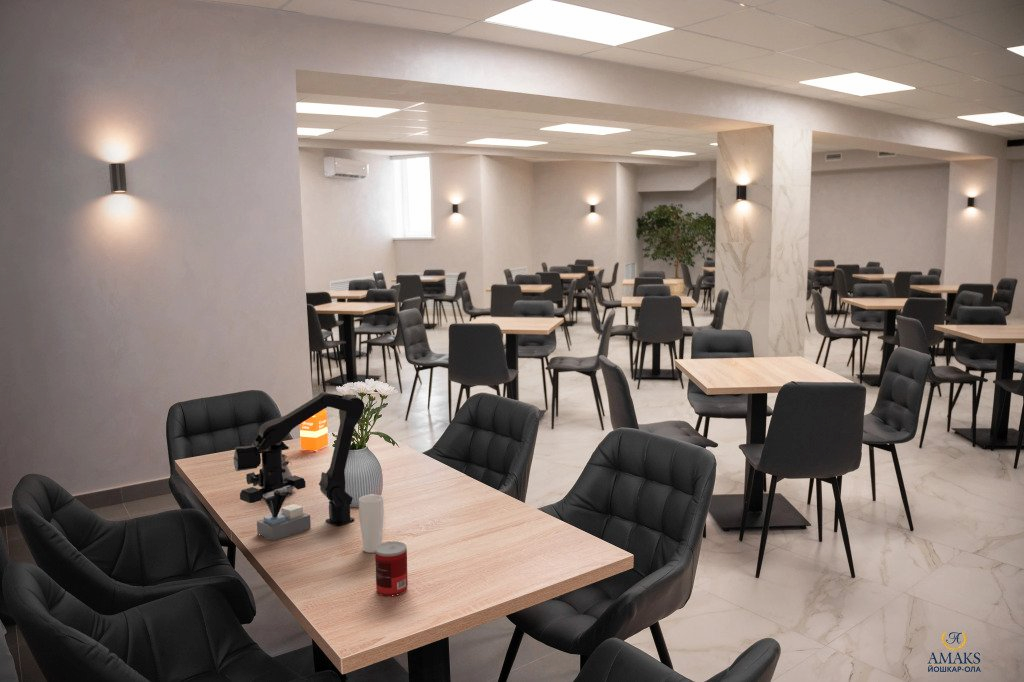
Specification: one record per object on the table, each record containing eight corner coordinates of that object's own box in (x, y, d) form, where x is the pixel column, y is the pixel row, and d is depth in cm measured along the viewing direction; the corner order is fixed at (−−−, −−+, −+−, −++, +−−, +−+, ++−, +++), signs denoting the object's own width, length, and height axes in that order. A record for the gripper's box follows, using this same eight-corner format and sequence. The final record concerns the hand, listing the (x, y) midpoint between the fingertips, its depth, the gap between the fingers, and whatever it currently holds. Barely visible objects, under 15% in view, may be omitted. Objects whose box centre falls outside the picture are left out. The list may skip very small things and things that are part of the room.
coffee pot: (258, 491, 263) (256, 449, 261) (291, 485, 269) (289, 444, 267) (272, 509, 245) (270, 464, 243) (307, 503, 251) (306, 459, 249)
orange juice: (300, 450, 315) (298, 403, 312) (312, 445, 323) (310, 399, 321) (316, 451, 312) (315, 404, 310) (328, 446, 321) (326, 400, 318)
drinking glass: (379, 555, 208) (377, 502, 206) (356, 553, 209) (354, 501, 207) (388, 546, 215) (386, 494, 213) (365, 544, 216) (364, 493, 214)
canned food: (409, 582, 192) (408, 540, 190) (405, 596, 184) (404, 553, 182) (378, 582, 191) (377, 541, 190) (374, 597, 183) (372, 554, 182)
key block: (310, 527, 229) (310, 515, 228) (272, 540, 219) (272, 527, 218) (295, 521, 234) (294, 509, 233) (257, 534, 224) (256, 521, 223)
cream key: (303, 519, 228) (302, 507, 228) (290, 523, 225) (290, 510, 225) (294, 516, 231) (294, 503, 231) (282, 520, 228) (281, 507, 227)
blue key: (286, 529, 224) (285, 516, 224) (273, 533, 221) (272, 520, 220) (277, 525, 227) (277, 513, 226) (264, 530, 224) (263, 517, 223)
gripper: (284, 453, 234) (286, 502, 236) (228, 467, 219) (231, 519, 221) (305, 460, 226) (307, 510, 228) (249, 475, 212) (252, 528, 214)
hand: (274, 516), depth 223 cm, fingers closed, pressing on blue key
